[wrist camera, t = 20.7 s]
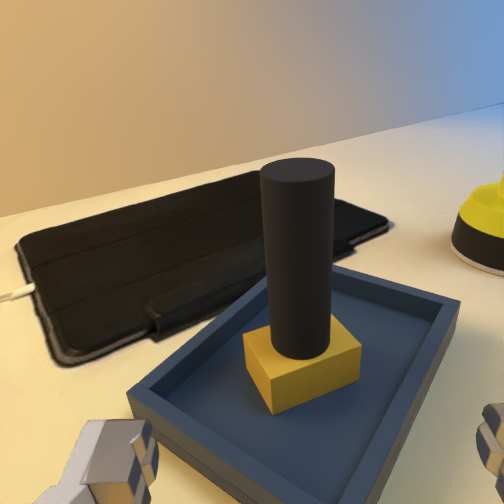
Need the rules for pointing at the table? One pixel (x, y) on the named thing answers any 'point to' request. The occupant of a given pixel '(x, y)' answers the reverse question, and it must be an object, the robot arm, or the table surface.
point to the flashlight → (481, 229)
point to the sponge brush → (299, 290)
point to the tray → (306, 414)
